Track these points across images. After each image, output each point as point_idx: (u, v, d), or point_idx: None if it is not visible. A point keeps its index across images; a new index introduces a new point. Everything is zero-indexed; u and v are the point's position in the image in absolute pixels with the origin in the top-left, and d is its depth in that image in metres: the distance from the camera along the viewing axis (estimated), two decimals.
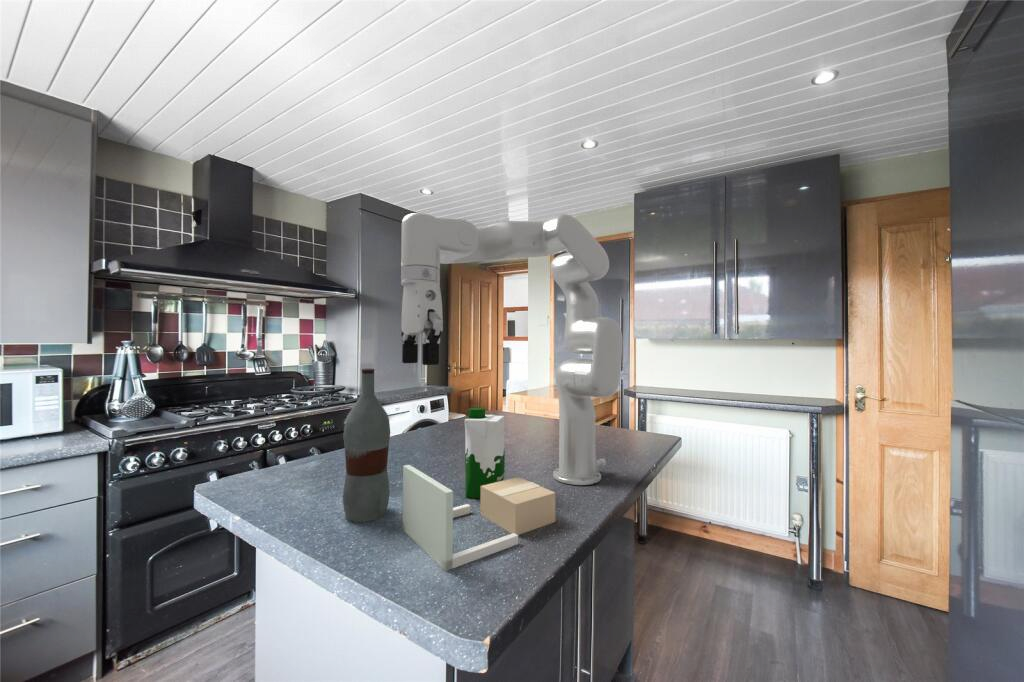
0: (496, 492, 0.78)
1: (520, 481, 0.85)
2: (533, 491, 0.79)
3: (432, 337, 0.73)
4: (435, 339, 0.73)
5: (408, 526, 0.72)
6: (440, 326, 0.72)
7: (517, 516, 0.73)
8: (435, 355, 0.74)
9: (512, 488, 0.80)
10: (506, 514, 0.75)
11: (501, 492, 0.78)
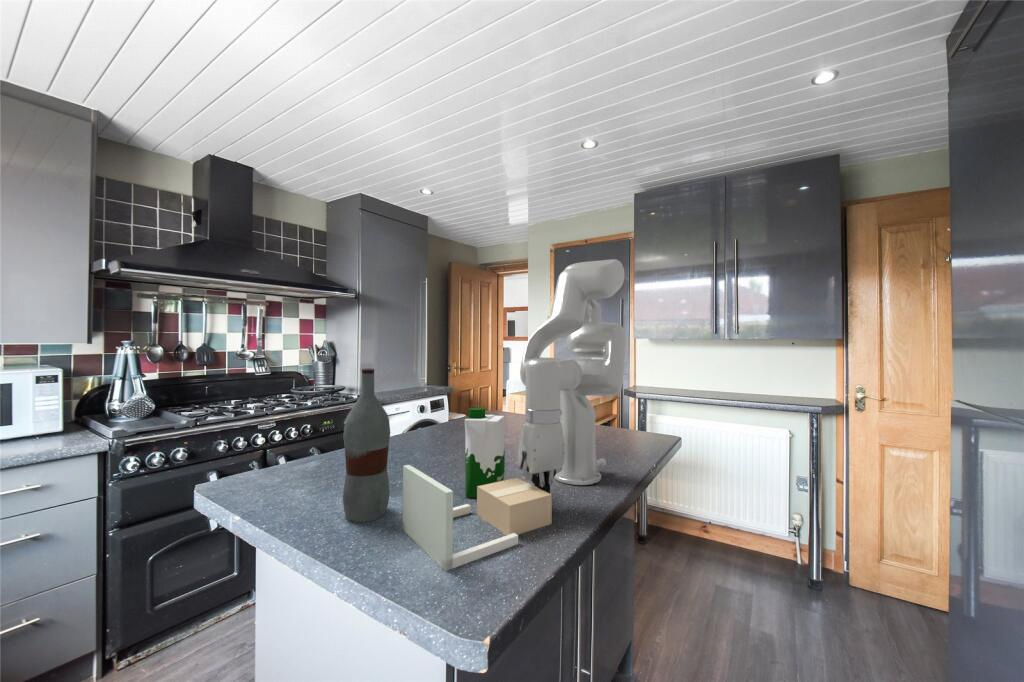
0: (492, 493, 0.78)
1: (517, 482, 0.84)
2: (529, 493, 0.78)
3: None
4: None
5: (408, 526, 0.72)
6: None
7: (511, 518, 0.72)
8: None
9: (508, 489, 0.80)
10: (501, 515, 0.74)
11: (497, 493, 0.78)
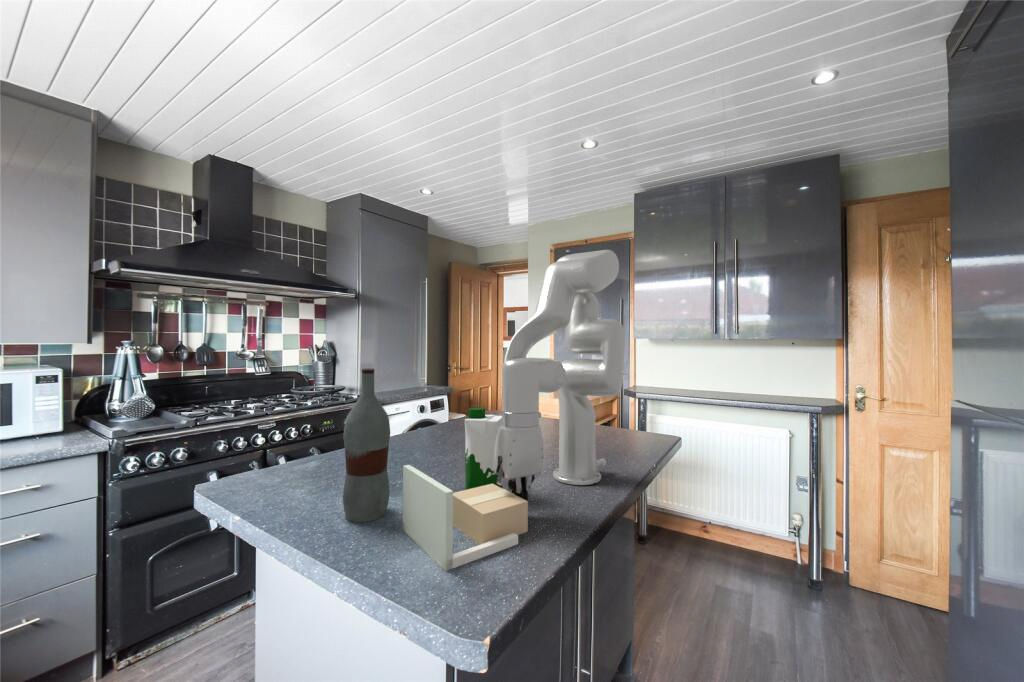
0: (465, 500, 0.74)
1: (493, 488, 0.81)
2: (505, 500, 0.75)
3: None
4: None
5: (408, 526, 0.72)
6: None
7: (485, 527, 0.68)
8: None
9: (483, 496, 0.76)
10: (474, 524, 0.70)
11: (470, 500, 0.74)
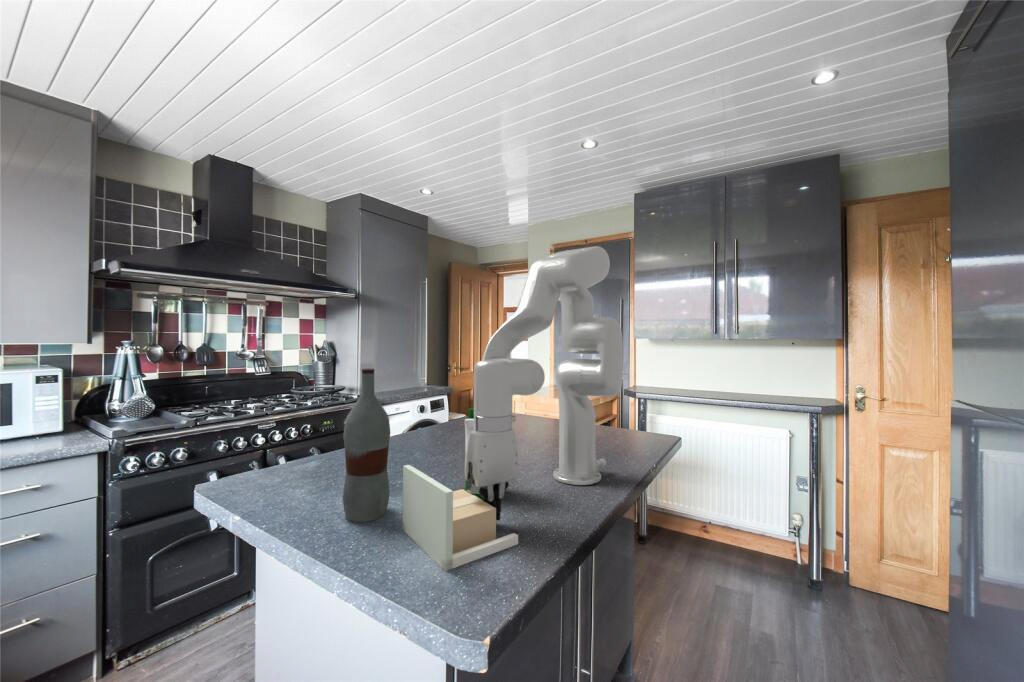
0: None
1: (462, 494, 0.77)
2: (472, 507, 0.71)
3: None
4: None
5: (408, 526, 0.72)
6: None
7: None
8: None
9: None
10: None
11: None
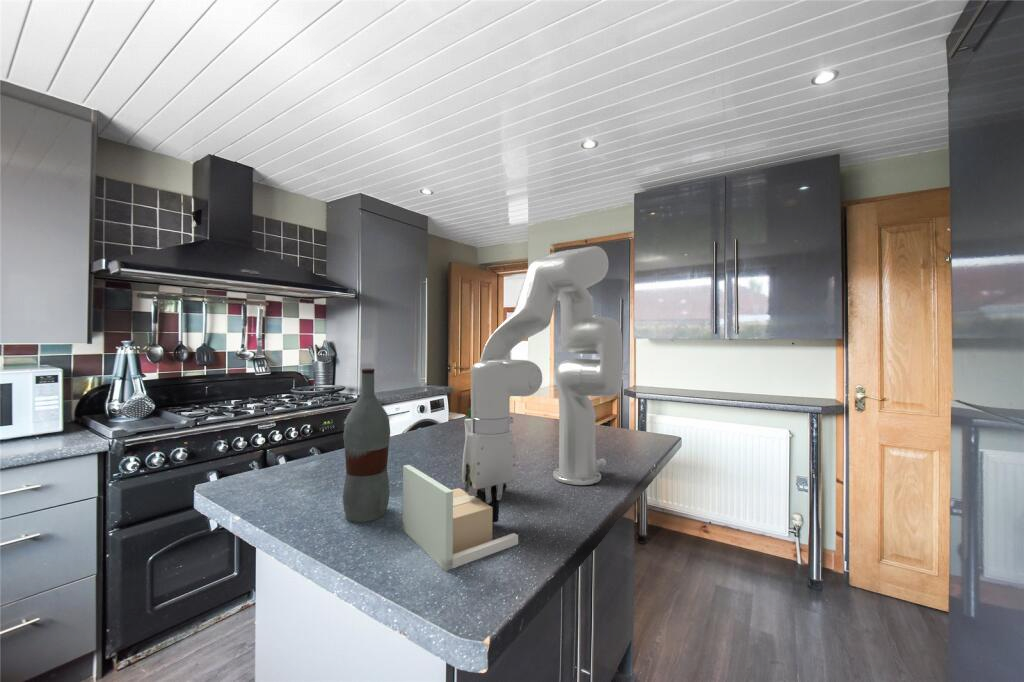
0: None
1: (459, 493, 0.77)
2: (468, 506, 0.71)
3: None
4: None
5: (408, 526, 0.72)
6: None
7: None
8: None
9: None
10: None
11: None
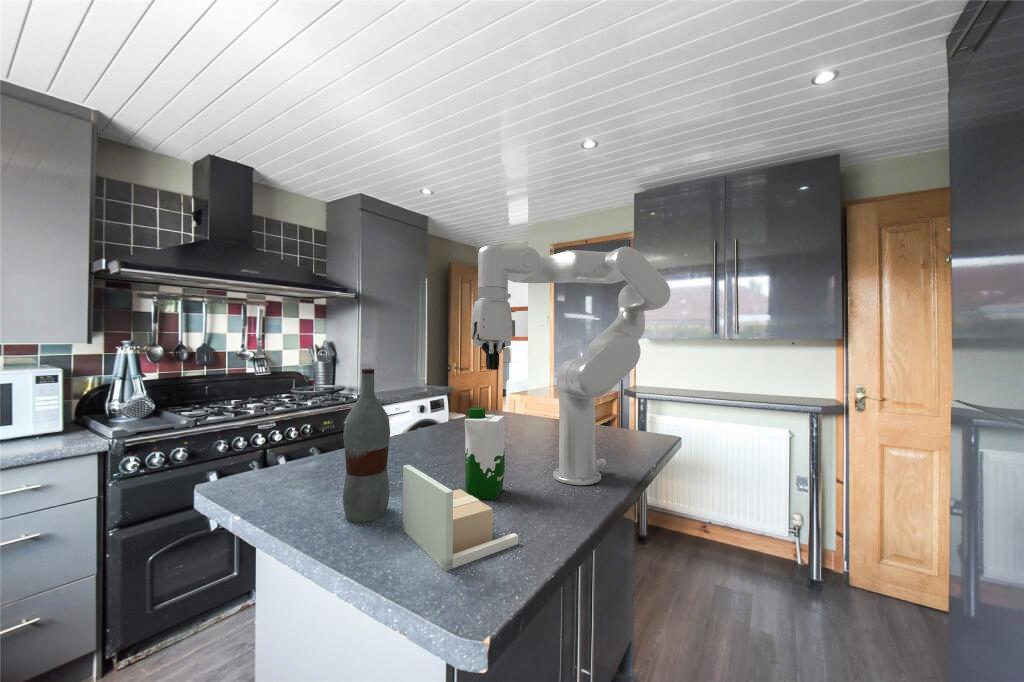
0: None
1: (459, 494, 0.77)
2: (469, 507, 0.71)
3: None
4: None
5: (408, 526, 0.72)
6: None
7: None
8: None
9: None
10: None
11: None
